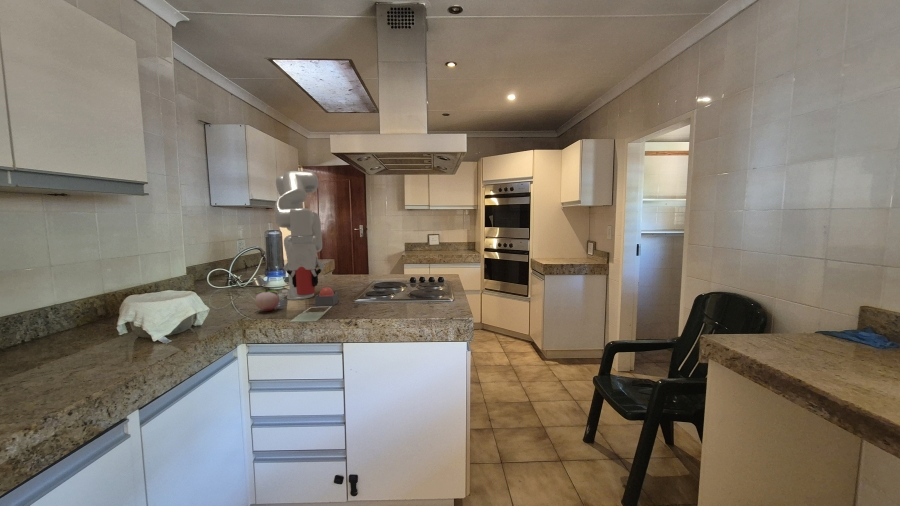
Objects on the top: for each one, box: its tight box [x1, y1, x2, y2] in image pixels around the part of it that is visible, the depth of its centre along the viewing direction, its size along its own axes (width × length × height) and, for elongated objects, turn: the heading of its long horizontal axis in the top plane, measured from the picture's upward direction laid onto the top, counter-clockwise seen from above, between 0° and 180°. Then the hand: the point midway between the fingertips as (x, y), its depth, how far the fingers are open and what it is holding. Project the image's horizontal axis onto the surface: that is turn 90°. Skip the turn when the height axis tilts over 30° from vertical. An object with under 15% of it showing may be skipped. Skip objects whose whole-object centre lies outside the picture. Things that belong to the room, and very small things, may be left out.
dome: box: [318, 286, 334, 296], centre depth 152 cm, size 6×6×6 cm
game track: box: [289, 291, 339, 323], centre depth 142 cm, size 10×30×4 cm, turn 3°
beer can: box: [295, 267, 316, 296], centre depth 130 cm, size 7×7×12 cm
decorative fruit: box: [254, 287, 281, 312], centre depth 142 cm, size 9×8×10 cm
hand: (305, 285), depth 130 cm, fingers closed on beer can, 6 cm apart
